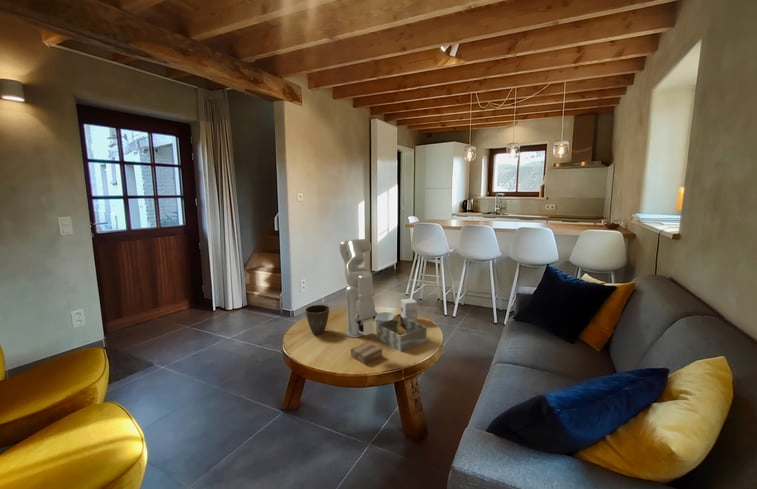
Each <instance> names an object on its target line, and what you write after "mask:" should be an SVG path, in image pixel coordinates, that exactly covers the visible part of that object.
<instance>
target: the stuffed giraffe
mask: <svg viewBox="0 0 757 489" xmlns="http://www.w3.org/2000/svg"><path fill="white" fill-rule="evenodd" d="M400 318H401V313H398V314H395V316H394V317H393V321H394V322H396V321H398V323H397V327H396V330H397V331H396V332H394V333H396V334H398V335H403V334H406V333H407V331H406V329H404V328H403V327H402V326H401V319H400Z"/></svg>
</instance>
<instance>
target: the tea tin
mask: <svg viewBox="0 0 757 489" xmlns="http://www.w3.org/2000/svg"><path fill="white" fill-rule="evenodd" d="M360 322H361V321H360ZM362 325H363V332H361V331H359V332H360V333H362V334H363V336H367V335H370V334H374V322H373V318H368V319H364V320H363V324H362Z"/></svg>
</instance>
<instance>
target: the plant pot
mask: <svg viewBox="0 0 757 489" xmlns="http://www.w3.org/2000/svg"><path fill="white" fill-rule="evenodd" d="M305 314H306V315H305V316H306V319H307V322H308V325H309V328H310V331H311V334H313V333H314V334H313V335H315V334H320V335H323V334H324V332H325V330H326V328H327V325H328V324H327V323H328V320H329V314H330V307H329V306H327V305H324V304H316V305H315V304H314V305H310V306H308V307H306V308H305ZM322 333H323V334H322Z"/></svg>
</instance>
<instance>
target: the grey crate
mask: <svg viewBox="0 0 757 489" xmlns="http://www.w3.org/2000/svg"><path fill="white" fill-rule="evenodd" d="M400 319H401V326H402V327H403V328H404V329H406V331H407V333H406V334H403V335H398V334H396V333H394V332H396V331H397V330H396V327H397V323H398V321H396V322H394V321H393V319H392V320H388V321H385V322H382V323H378V324H377V323H376V324H375V325H376V339H377V340H379V341H380V342H383V343H385V344H386V345H388V346H389V347H392V348H394V349H396V350H397V351H398V352H402V351H405V350H408V349H410V348H413V347H417V346H418V345H421V344H423V343H426V342H427V338H428V335H427V333H428V332H427V330H428V329H427V328H428V327H427V326H425V325H423V324H420V323H418V322H417V323H416V322H414V321H411V320H409V319H407V318H405V317H401V318H400Z"/></svg>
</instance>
